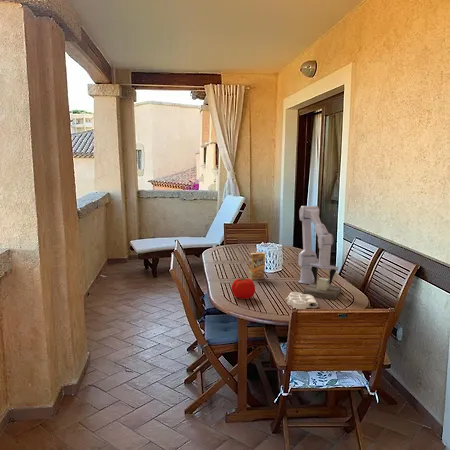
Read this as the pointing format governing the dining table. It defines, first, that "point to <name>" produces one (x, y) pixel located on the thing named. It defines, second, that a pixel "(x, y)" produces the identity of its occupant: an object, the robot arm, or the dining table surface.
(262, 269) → the candy box
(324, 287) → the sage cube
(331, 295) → the taupe base
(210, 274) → the dining table surface
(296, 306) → the white brass knuckles
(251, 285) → the tomato
